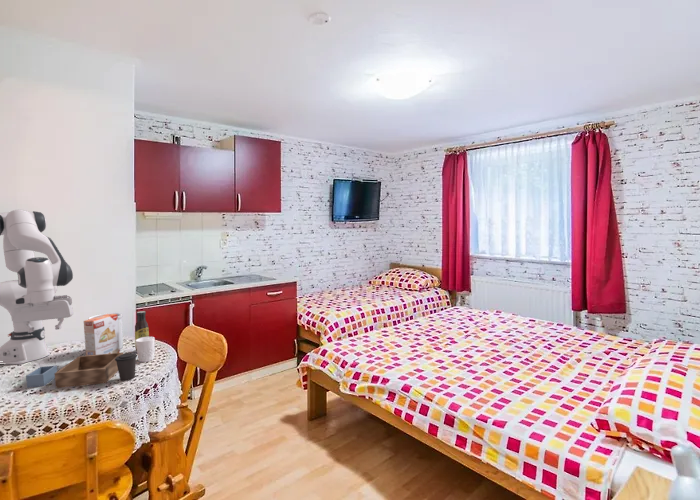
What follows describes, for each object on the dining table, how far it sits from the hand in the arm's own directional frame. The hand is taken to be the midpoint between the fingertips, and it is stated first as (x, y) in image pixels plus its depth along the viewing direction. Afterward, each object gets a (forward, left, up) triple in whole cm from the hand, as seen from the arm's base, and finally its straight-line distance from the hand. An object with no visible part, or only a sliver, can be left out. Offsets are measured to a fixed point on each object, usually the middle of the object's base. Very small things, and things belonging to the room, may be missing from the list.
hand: (44, 330), depth 158 cm
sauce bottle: (+26, +31, -22) cm, 46 cm away
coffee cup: (+31, -6, -22) cm, 39 cm away
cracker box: (+12, +21, -22) cm, 33 cm away
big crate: (+15, +1, -21) cm, 26 cm away
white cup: (+32, +16, -22) cm, 42 cm away
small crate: (-3, 0, -22) cm, 22 cm away
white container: (+7, +39, -22) cm, 46 cm away
